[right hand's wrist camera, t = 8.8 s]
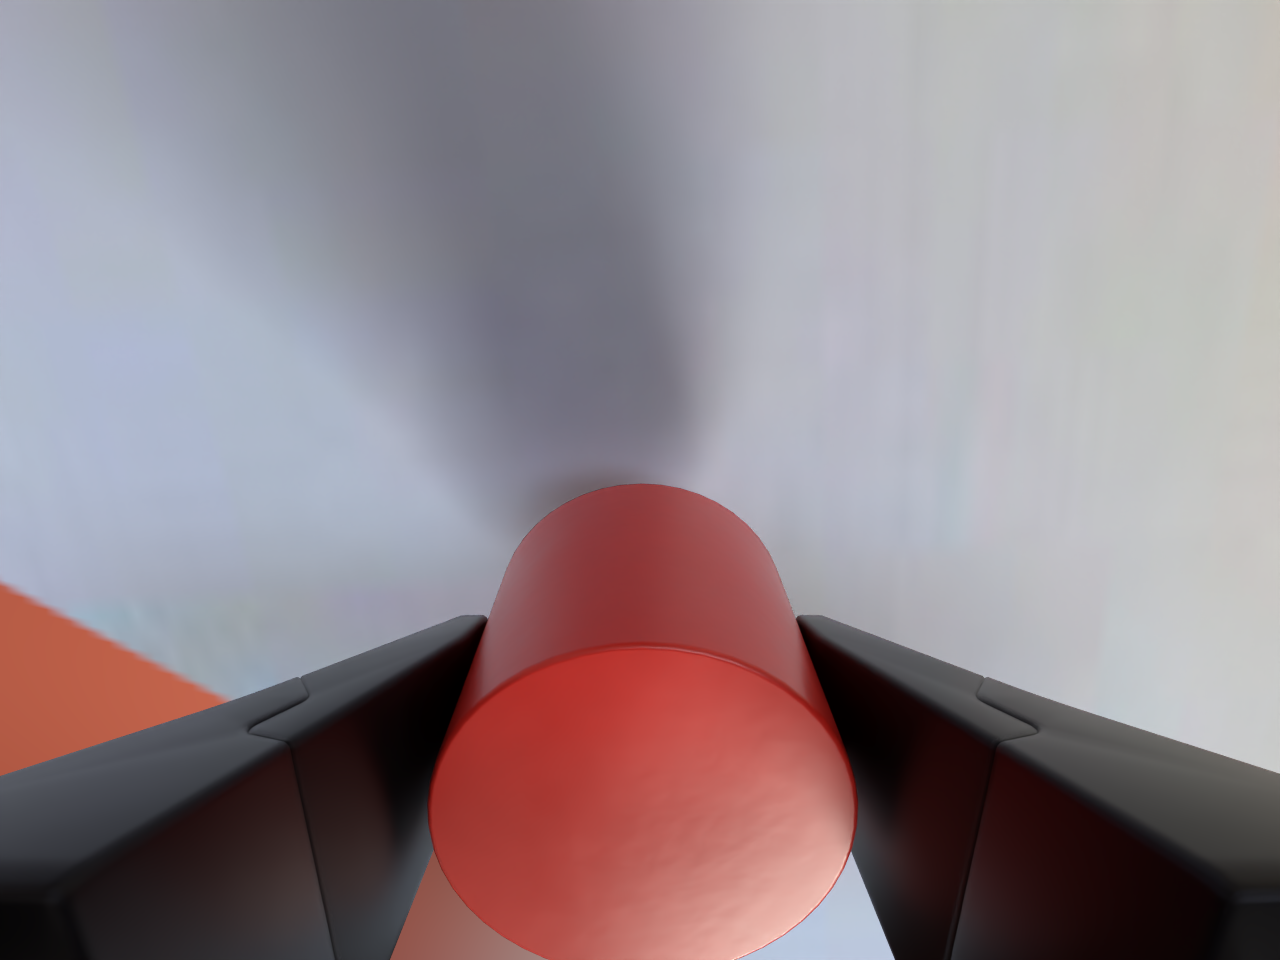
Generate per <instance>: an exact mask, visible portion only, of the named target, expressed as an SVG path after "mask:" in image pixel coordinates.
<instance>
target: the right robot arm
mask: <svg viewBox="0 0 1280 960" xmlns="http://www.w3.org/2000/svg"><path fill="white" fill-rule="evenodd" d="M487 621H488V619H487V617H485V616H484V615H463V616H459V617H456V618H454V619H451V620H449V621H446V622H443V623H441V624H438V625H435V626H433V627H430V628H427V629H425V630H422V631H420V632H417V633H414V634H412V635H409V636H406V637H404V638H401V639H399V640H396V641H393V642H391V643H388V644H385V645H383V646H380V647H377V648H375V649H372V650H370V651H367V652H364V653H362V654H359V655H356V656H354V657H351V658H349V659H346V660H343V661H341V662H338V663H335V664H333V665H330V666H328V667H325V668H322V669H320V670H317V671H314V672H312V673H309V674H306V675H304V676H302V677H301V678H299V677H296V678H293V679H291V680H288V681H285V682H283V683H280V684H277V685H275V686H272V687H269V688H266V689H264V690H261V691H258V692H255V693H253V694H250V695H247V696H244V697H241V698H239V699H236V700H233V701H230V702H227V703H224V704H221V705H218V706H215V707H212V708H209V709H206V710H203V711H200V712H197V713H194V714H191V715H187V716H184V717H181V718H178V719H175V720H172V721H169V722H166V723H163V724H160V725H157V726H154V727H150V728H147V729H144V730H141V731H138V732H135V733H132V734H129V735H126V736H123V737H120V738H117V739H113V740H110V741H107V742H104V743H101V744H98V745H95V746H92V747H89V748H86V749H83V750H79V751H76V752H73V753H70V754H67V755H64V756H61V757H58V758H55V759H52V760H49V761H45V762H42V763H39V764H36V765H33V766H30V767H27V768H24V769H21V770H18V771H15V772H12V773H8V774H5V775H2V776H0V960H390V958H391V955H392V953H393V950H394V948H395V945H396V943H397V940H398V938H399V935H400V933H401V930H402V928H403V925H404V922H405V920H406V917H407V915H408V913H409V910H410V908H411V905H412V902H413V900H414V898H415V895H416V892H417V890H418V887H419V885H420V882H421V880H422V877H423V875H424V872H425V870H426V867H427V865H428V862H429V860H430V857H431V855H432V852H433V850H434V849H433V844H432V840H431V835H430V831H429V826H428V809H427V800H428V792H429V783H430V779H431V775H432V772H433V769H434V765H435V762H436V759H437V756H438V753H439V750H440V748H441V745H442V742H443V740H444V737H445V734H446V732H447V729H448V726H449V723H450V721H451V718H452V715H453V713H454V710H455V707H456V704H457V702H458V699H459V696H460V694H461V691H462V688H463V686H464V683H465V680H466V677H467V675H468V672H469V669H470V667H471V664H472V661H473V659H474V656H475V653H476V650H477V648H478V645H479V642H480V640H481V637H482V634H483V631H484V629H485V626H486V623H487ZM796 621H797V623H798V626H799V629H800V631H801V634H802V636H803V639H804V642H805V644H806V647H807V650H808V652H809V655H810V657H811V660H812V663H813V665H814V668H815V671H816V673H817V676H818V678H819V681H820V684H821V686H822V689H823V691H824V694H825V697H826V699H827V702H828V705H829V707H830V710H831V712H832V715H833V718H834V720H835V723H836V725H837V728H838V731H839V733H840V736H841V739H842V741H843V744H844V746H845V749H846V752H847V754H848V757H849V760H850V763H851V767H852V770H853V773H854V776H855V780H856V788H857V796H858V817H857V828H856V832H855V837H854V841H853V846H852V849H851V852H852V854H853V857H854V859H855V862H856V864H857V867H858V869H859V872H860V874H861V877H862V879H863V882H864V884H865V887H866V889H867V892H868V894H869V897H870V899H871V901H872V904H873V906H874V909H875V911H876V914H877V916H878V919H879V921H880V924H881V926H882V929H883V931H884V934H885V936H886V939H887V941H888V944H889V946H890V949H891V951H892V954H893V956H894V959H895V960H1280V774H1279V773H1276V772H1273V771H1269V770H1266V769H1263V768H1260V767H1257V766H1254V765H1251V764H1248V763H1245V762H1241V761H1238V760H1235V759H1232V758H1229V757H1226V756H1223V755H1220V754H1217V753H1213V752H1210V751H1207V750H1204V749H1201V748H1198V747H1195V746H1192V745H1189V744H1185V743H1182V742H1179V741H1176V740H1173V739H1170V738H1167V737H1164V736H1161V735H1157V734H1154V733H1151V732H1148V731H1145V730H1142V729H1139V728H1136V727H1133V726H1129V725H1126V724H1123V723H1120V722H1117V721H1114V720H1111V719H1108V718H1104V717H1101V716H1098V715H1095V714H1092V713H1089V712H1086V711H1083V710H1080V709H1077V708H1074V707H1071V706H1068V705H1065V704H1062V703H1059V702H1056V701H1053V700H1050V699H1047V698H1044V697H1041V696H1038V695H1035V694H1033V693H1030V692H1027V691H1024V690H1021V689H1019V688H1016V687H1013V686H1010V685H1008V684H1005V683H1002V682H1000V681H997V680H994V679H992V678H989V677H986V678H985V679H984V677H983V676H981V675H978V674H976V673H973V672H970V671H968V670H965V669H962V668H960V667H957V666H954V665H952V664H949V663H946V662H944V661H941V660H938V659H936V658H933V657H931V656H928V655H925V654H923V653H920V652H917V651H915V650H912V649H909V648H907V647H904V646H901V645H899V644H896V643H893V642H891V641H888V640H885V639H883V638H880V637H877V636H875V635H872V634H869V633H867V632H864V631H862V630H859V629H856V628H854V627H851V626H848V625H846V624H843V623H840V622H838V621H835V620H832V619H830V618H827V617H824V616H820V615H799V616H798V617H797V618H796Z"/></svg>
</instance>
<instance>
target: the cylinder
mask: <svg viewBox="0 0 1280 960" xmlns="http://www.w3.org/2000/svg"><path fill="white" fill-rule="evenodd" d="M427 809H428V826H429V831H430V835H431V840H432V844H433V849H434V851H435V854H436V856H437V859H438V861H439V864H440V867H441V869H442V871H443V872H444V874H445V876H446V878H447V879H448V881H449V883H450V884H451V886H452V888H453V889H454V890H455V892H456V893H457V894H458V896H459V897H460V898H461V899H462V901H463V902H464V903H465V904H466V906H467V907H468V908H469V909H470V910H471V911H473V912H474V913H475V914H476V915H477V916H478V917H479V918H480V919H481V920H482V921H483V922H484V923H485V924H487V925H488V926H490V927H491V928H492V929H493V930H495V931H496V932H497V933H499V934H500V935H501V936H503V937H505V938H506V939H508V940H510V941H512V942H513V943H515V944H517V945H518V946H520V947H522V948H524V949H526V950H528V951H530V952H533V953H535V954H537V955H539V956H541V957H543V958H546V959H549V960H736V959H738V958H741V957H744V956H746V955H748V954H750V953H752V952H754V951H757V950H759V949H761V948H763V947H765V946H767V945H768V944H770V943H772V942H773V941H775V940H777V939H778V938H780V937H782V936H783V935H785V934H786V933H787V932H789V931H790V930H791V929H793V928H794V927H795V926H797V925H798V924H799V923H801V922H802V921H803V920H804V919H805V918H806V917H807V916H808V915H809V914H810V913H811V912H812V911H813V910H814V909H815V908H816V907H817V906H819V904H820V903H821V902H822V901H823V899H824V898H825V897H826V896H827V894H828V893H829V892H830V890H831V889H832V888H833V886H834V885H835V883H836V881H837V880H838V878H839V876H840V874H841V873H842V871H843V869H844V867H845V865H846V862H847V860H848V857H849V854H850V852H851V849H852V846H853V841H854V837H855V832H856V828H857V817H858V796H857V788H856V780H855V776H854V773H853V770H852V767H851V763H850V760H849V757H848V754H847V752H846V749H845V746H844V744H843V741H842V739H841V736H840V733H839V731H838V728H837V725H836V723H835V720H834V718H833V715H832V712H831V710H830V707H829V705H828V702H827V699H826V697H825V694H824V691H823V689H822V686H821V684H820V681H819V678H818V676H817V673H816V671H815V668H814V665H813V663H812V660H811V657H810V655H809V652H808V650H807V647H806V644H805V642H804V639H803V636H802V634H801V631H800V629H799V626H798V623H797V621H796V618H795V616H794V613H793V610H792V608H791V605H790V602H789V600H788V597H787V595H786V592H785V589H784V587H783V584H782V582H781V579H780V576H779V574H778V571H777V568H776V566H775V564H774V562H773V560H772V558H771V556H770V554H769V552H768V550H767V549H766V547H765V546H764V544H763V543H762V541H761V540H760V538H759V537H758V536H757V535H756V534H755V533H754V532H753V530H752V529H751V528H750V527H749V526H748V525H747V524H746V523H745V522H744V521H742V520H741V519H740V518H739V517H738V516H736V515H735V514H734V513H733V512H731V511H730V510H728V509H726V508H725V507H723V506H722V505H720V504H719V503H717V502H715V501H713V500H711V499H708V498H706V497H704V496H702V495H700V494H697V493H694V492H690V491H687V490H684V489H681V488H676V487H670V486H665V485H655V484H629V485H619V486H613V487H608V488H603V489H599V490H596V491H593V492H590V493H587V494H584V495H582V496H579V497H577V498H575V499H573V500H571V501H569V502H567V503H565V504H563V505H562V506H560V507H559V508H557V509H555V510H554V511H552V512H551V513H549V514H548V515H547V516H546V517H545V518H543V519H542V520H541V521H540V522H539V523H538V524H536V525H535V526H534V528H533V529H532V530H531V531H530V532H529V533H528V534H527V535H526V536H525V538H524V539H523V540H522V542H521V543H520V545H519V546H518V548H517V549H516V551H515V552H514V554H513V556H512V558H511V561H510V563H509V565H508V567H507V569H506V572H505V575H504V577H503V580H502V583H501V585H500V588H499V591H498V594H497V596H496V599H495V602H494V604H493V607H492V610H491V613H490V615H489V618H488V621H487V623H486V626H485V629H484V631H483V634H482V637H481V640H480V642H479V645H478V648H477V650H476V653H475V656H474V659H473V661H472V664H471V667H470V669H469V672H468V675H467V677H466V680H465V683H464V686H463V688H462V691H461V694H460V696H459V699H458V702H457V704H456V707H455V710H454V713H453V715H452V718H451V721H450V723H449V726H448V729H447V732H446V734H445V737H444V740H443V742H442V745H441V748H440V750H439V753H438V756H437V759H436V762H435V765H434V769H433V772H432V775H431V779H430V783H429V792H428V800H427Z"/></svg>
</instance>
